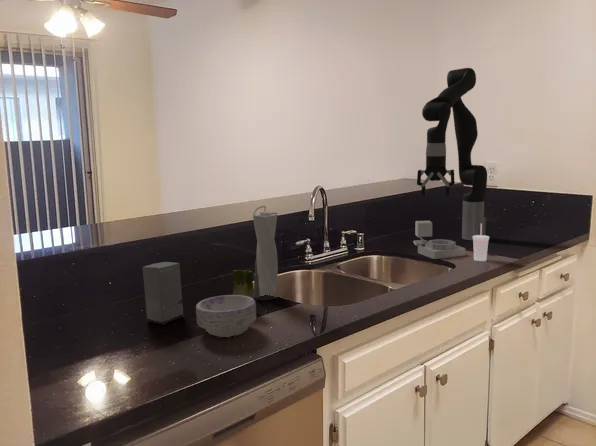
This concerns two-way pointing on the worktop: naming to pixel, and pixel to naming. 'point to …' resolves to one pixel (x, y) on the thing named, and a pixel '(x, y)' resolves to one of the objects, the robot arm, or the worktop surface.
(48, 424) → the worktop surface
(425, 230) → the security camera
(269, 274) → the skyscraper
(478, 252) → the beverage cup
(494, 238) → the worktop surface
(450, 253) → the mount block
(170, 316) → the skincare box
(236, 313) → the paper bowls
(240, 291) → the fennel bulb
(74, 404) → the worktop surface
